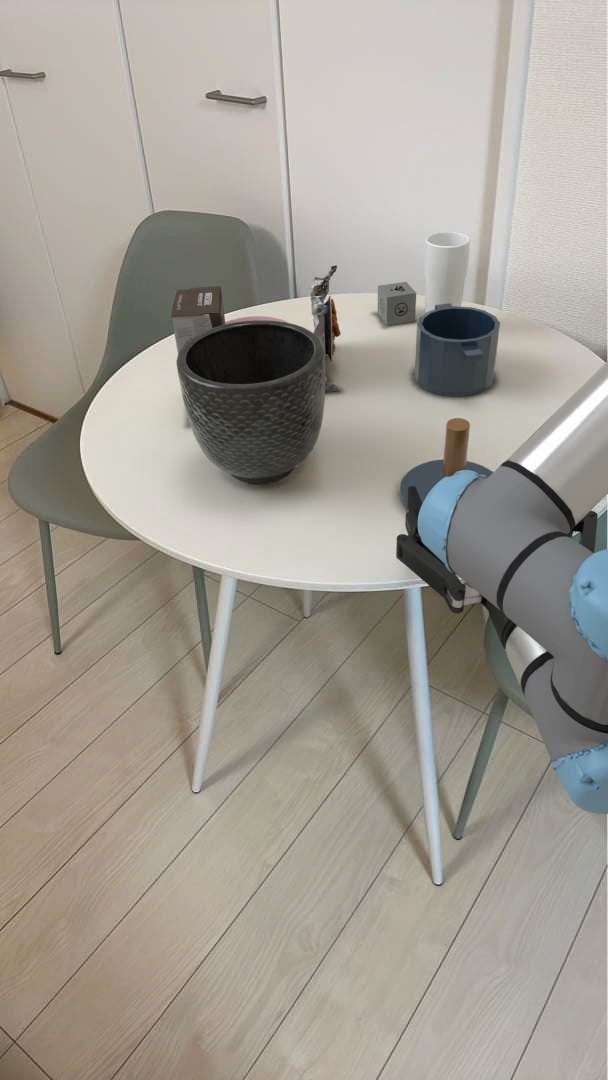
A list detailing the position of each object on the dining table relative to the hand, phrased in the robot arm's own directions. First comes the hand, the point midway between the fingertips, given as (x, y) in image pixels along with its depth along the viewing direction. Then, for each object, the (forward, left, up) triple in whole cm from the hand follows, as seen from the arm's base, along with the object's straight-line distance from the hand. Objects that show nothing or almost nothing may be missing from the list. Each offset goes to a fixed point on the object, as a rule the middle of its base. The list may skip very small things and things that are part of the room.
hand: (473, 488), depth 81 cm
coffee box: (+28, -34, -7) cm, 44 cm away
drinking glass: (-10, -50, -7) cm, 51 cm away
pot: (-8, -35, -6) cm, 36 cm away
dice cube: (-4, -57, -7) cm, 58 cm away
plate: (+21, -52, -7) cm, 56 cm away
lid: (0, -7, -6) cm, 9 cm away
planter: (+22, -18, -7) cm, 29 cm away
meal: (+10, -42, -7) cm, 44 cm away
